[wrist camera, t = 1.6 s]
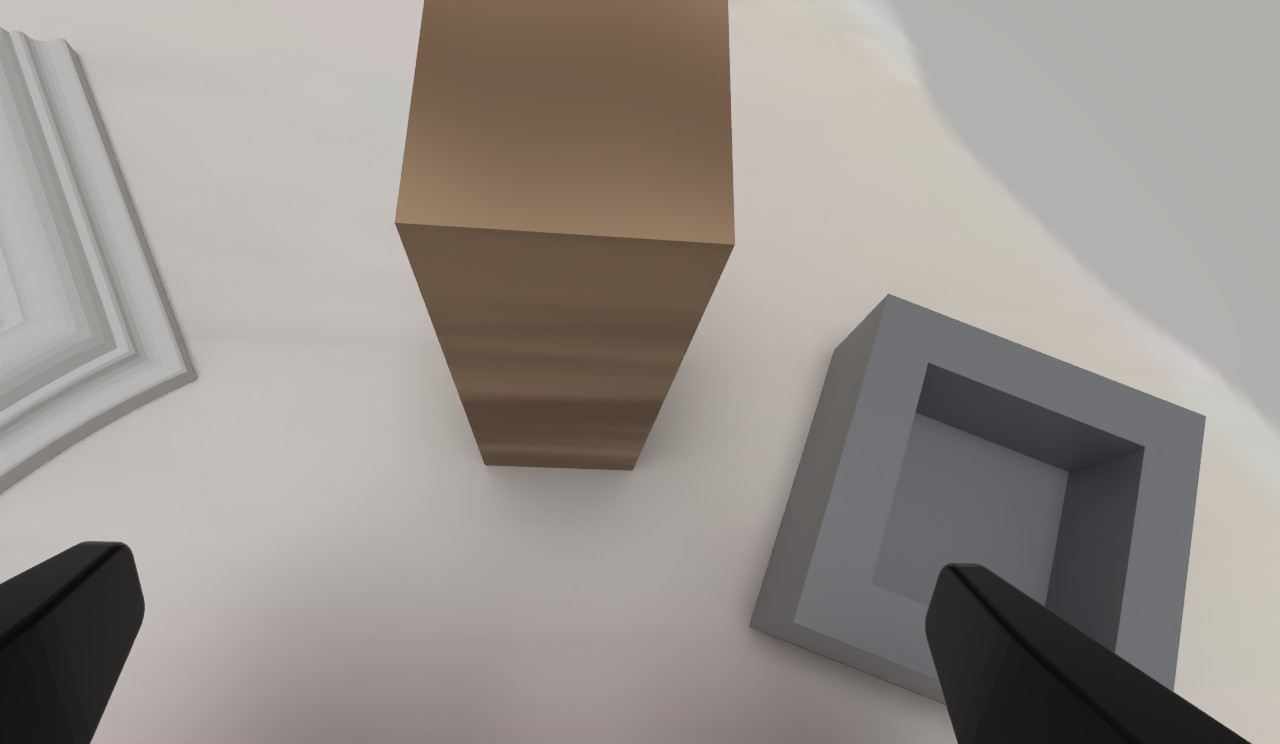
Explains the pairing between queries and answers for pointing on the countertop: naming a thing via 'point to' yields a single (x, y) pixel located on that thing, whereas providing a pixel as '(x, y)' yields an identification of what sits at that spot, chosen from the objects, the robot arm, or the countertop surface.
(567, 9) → the tall wooden block
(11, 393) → the molding
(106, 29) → the countertop surface
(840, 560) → the end cap
